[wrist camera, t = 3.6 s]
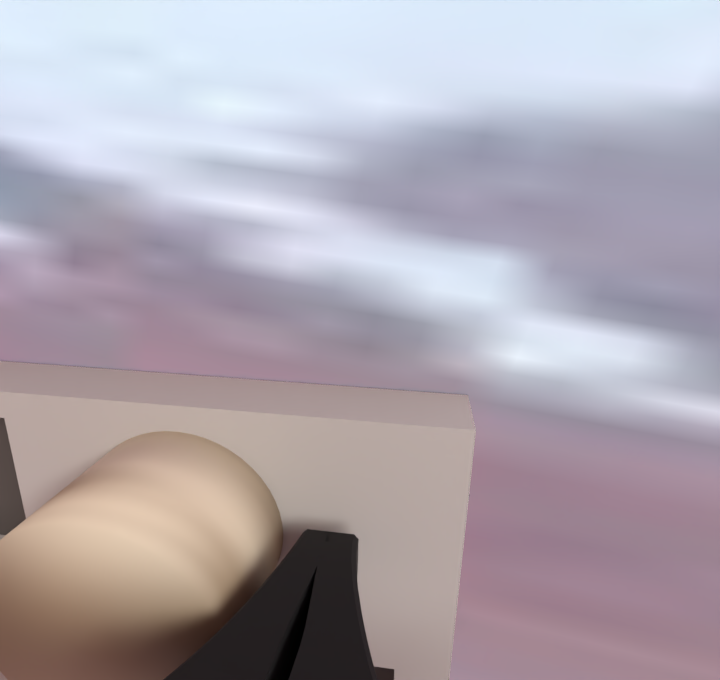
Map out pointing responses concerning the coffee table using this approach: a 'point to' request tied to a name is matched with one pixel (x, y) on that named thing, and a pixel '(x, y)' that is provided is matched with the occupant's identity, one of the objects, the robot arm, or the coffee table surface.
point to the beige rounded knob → (135, 562)
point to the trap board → (281, 475)
